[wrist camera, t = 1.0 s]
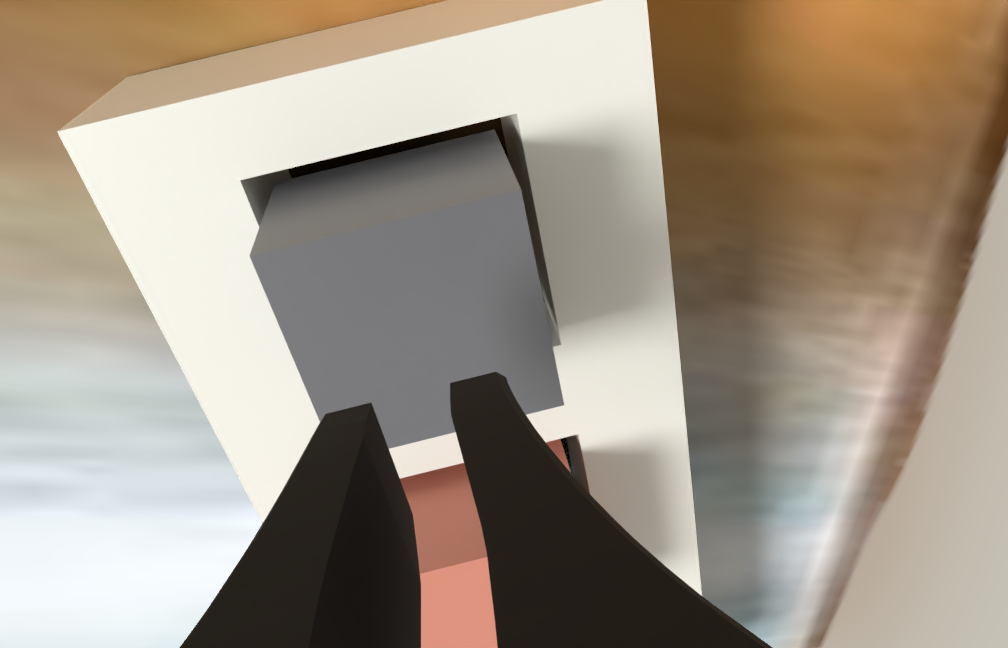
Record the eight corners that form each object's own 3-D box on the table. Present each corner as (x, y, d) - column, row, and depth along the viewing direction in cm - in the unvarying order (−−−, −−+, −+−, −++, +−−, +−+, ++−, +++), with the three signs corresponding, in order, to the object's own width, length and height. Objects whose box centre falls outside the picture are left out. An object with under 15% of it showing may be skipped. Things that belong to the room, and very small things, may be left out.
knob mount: (674, 635, 28) (715, 740, 25) (412, 701, 28) (416, 816, 24) (589, -34, 16) (645, -11, 13) (127, 76, 16) (57, 131, 12)
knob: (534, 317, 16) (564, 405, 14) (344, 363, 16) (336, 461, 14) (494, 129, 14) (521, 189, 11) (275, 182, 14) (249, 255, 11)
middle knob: (583, 550, 20) (614, 655, 18) (430, 589, 20) (438, 700, 17) (558, 432, 18) (589, 531, 15) (387, 474, 18) (387, 582, 15)
